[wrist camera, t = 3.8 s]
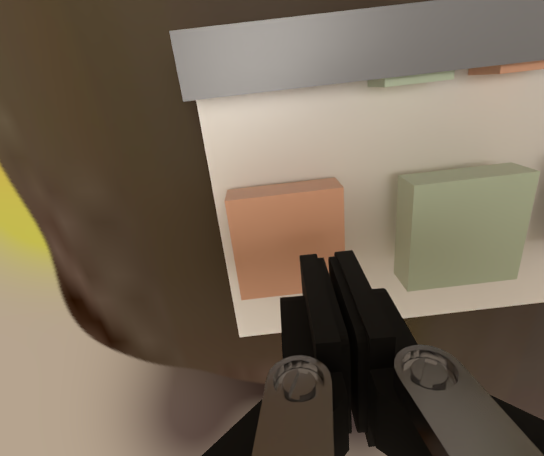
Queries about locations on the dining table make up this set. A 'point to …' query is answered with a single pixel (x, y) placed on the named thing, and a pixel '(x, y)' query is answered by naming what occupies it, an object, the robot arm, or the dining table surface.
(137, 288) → the dining table surface
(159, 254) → the dining table surface
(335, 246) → the terracotta key
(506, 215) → the sage key
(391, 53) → the keypad
